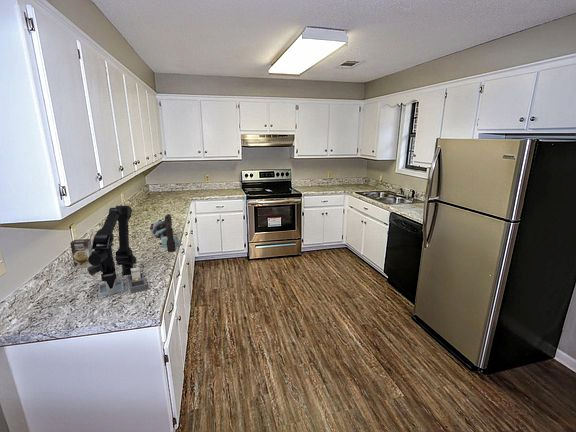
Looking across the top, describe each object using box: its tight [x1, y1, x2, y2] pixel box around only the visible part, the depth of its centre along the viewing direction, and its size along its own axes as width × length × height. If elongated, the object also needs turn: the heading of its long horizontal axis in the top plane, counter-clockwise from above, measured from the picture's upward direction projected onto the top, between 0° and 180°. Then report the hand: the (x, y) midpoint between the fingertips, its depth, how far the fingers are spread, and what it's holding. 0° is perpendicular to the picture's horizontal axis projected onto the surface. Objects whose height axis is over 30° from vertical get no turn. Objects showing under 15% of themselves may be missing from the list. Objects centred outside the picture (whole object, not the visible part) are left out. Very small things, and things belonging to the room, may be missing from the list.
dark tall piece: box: [158, 213, 184, 253], centre depth 217 cm, size 16×21×33 cm
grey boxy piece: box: [127, 266, 148, 294], centre depth 160 cm, size 16×8×8 cm, turn 31°
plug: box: [104, 281, 116, 292], centre depth 155 cm, size 4×4×7 cm
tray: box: [97, 279, 125, 298], centre depth 156 cm, size 11×11×2 cm
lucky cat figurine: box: [149, 219, 166, 239], centre depth 242 cm, size 15×12×14 cm
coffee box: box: [69, 238, 93, 269], centre depth 184 cm, size 9×6×16 cm
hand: (110, 286), depth 155 cm, fingers open, 6 cm apart
